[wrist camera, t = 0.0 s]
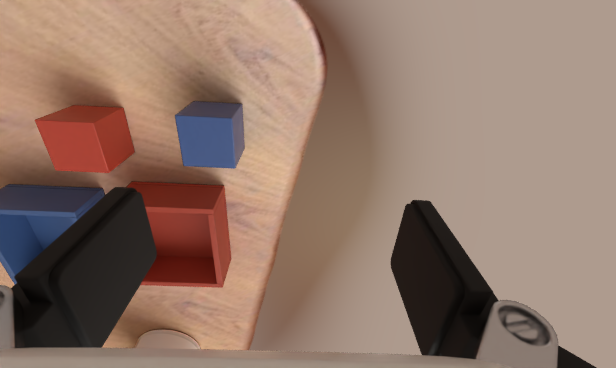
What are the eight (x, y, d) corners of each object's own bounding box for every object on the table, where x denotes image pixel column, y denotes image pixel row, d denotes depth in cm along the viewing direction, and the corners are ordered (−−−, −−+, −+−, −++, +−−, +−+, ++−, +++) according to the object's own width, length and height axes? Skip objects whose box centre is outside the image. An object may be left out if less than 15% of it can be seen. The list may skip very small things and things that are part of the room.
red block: (73, 104, 27) (34, 119, 23) (123, 107, 27) (92, 122, 23) (89, 150, 29) (55, 170, 25) (135, 152, 29) (108, 173, 25)
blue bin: (8, 183, 31) (-35, 207, 27) (102, 188, 31) (73, 212, 27) (47, 258, 36) (16, 287, 32) (127, 261, 36) (106, 290, 32)
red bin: (131, 181, 31) (107, 205, 27) (224, 185, 31) (212, 209, 27) (152, 256, 36) (134, 285, 32) (231, 258, 36) (222, 287, 32)
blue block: (193, 100, 27) (174, 114, 23) (242, 103, 27) (232, 118, 23) (199, 146, 29) (183, 166, 25) (244, 148, 29) (235, 168, 25)
